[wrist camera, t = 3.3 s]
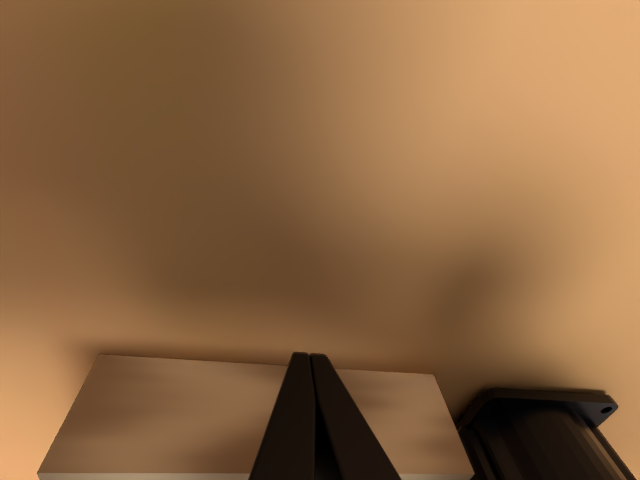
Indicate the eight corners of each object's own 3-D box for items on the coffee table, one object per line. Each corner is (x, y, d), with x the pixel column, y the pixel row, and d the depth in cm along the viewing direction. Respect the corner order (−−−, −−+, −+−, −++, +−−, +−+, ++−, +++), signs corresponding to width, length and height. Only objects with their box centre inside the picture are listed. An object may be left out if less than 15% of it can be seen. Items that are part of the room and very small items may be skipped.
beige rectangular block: (429, 365, 14) (474, 473, 11) (362, 482, 19) (378, 580, 16) (104, 343, 12) (37, 472, 9) (126, 483, 17) (89, 597, 14)
